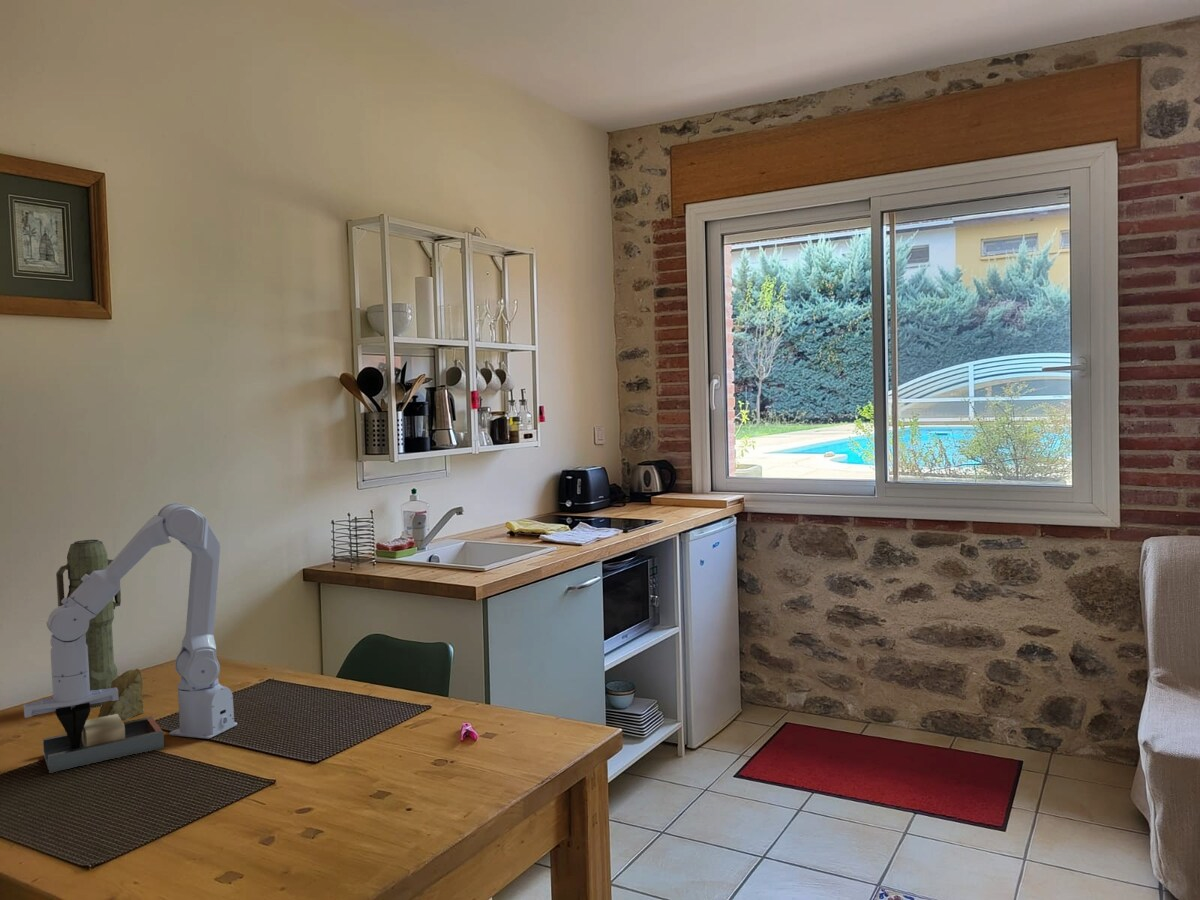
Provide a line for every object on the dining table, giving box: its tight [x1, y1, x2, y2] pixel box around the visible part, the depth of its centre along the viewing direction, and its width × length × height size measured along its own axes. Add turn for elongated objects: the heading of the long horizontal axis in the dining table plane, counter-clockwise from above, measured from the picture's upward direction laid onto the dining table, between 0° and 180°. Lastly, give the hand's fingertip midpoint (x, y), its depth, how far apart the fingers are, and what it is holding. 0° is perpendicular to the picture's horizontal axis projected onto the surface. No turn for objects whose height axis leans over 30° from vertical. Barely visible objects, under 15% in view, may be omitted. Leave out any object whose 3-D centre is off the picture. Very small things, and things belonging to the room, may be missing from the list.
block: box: [82, 714, 125, 747], centre depth 163 cm, size 6×8×4 cm
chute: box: [42, 716, 165, 774], centre depth 163 cm, size 18×11×3 cm, turn 126°
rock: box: [96, 668, 144, 721], centre depth 181 cm, size 11×9×10 cm
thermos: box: [55, 539, 122, 708], centre depth 193 cm, size 9×12×35 cm
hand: (74, 747), depth 160 cm, fingers closed
